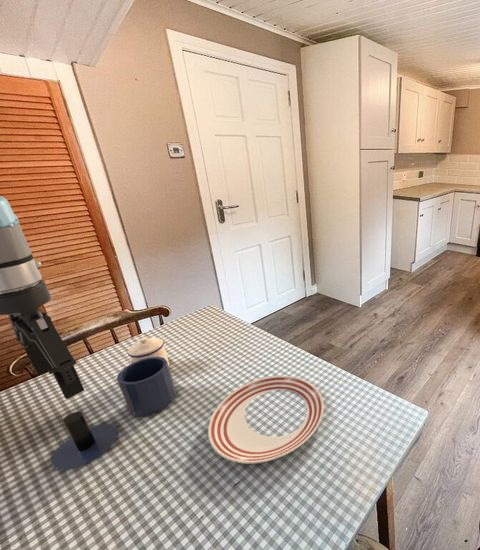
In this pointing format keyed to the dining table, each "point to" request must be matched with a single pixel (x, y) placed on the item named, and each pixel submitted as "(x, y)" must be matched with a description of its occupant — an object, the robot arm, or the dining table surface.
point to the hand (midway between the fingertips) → (60, 382)
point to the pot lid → (83, 442)
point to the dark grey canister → (147, 386)
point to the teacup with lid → (147, 349)
